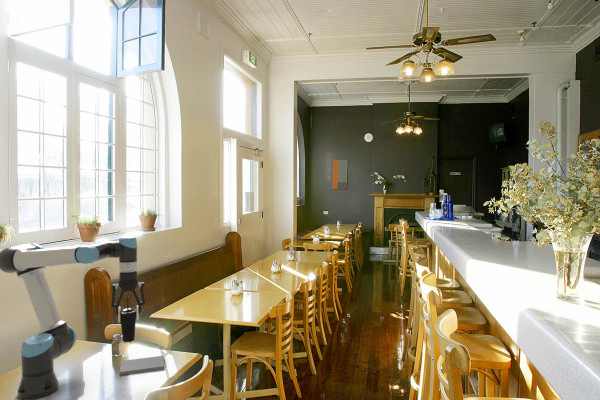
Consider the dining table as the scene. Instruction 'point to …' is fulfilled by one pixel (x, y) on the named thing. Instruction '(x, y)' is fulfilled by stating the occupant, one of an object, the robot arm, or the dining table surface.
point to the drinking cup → (128, 323)
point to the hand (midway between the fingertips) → (128, 320)
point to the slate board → (142, 365)
